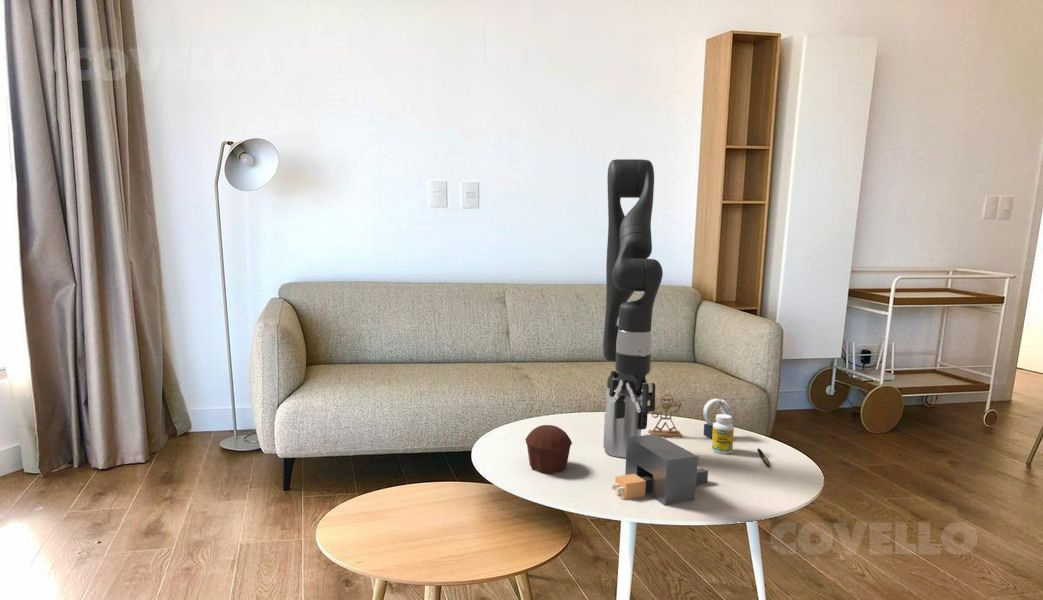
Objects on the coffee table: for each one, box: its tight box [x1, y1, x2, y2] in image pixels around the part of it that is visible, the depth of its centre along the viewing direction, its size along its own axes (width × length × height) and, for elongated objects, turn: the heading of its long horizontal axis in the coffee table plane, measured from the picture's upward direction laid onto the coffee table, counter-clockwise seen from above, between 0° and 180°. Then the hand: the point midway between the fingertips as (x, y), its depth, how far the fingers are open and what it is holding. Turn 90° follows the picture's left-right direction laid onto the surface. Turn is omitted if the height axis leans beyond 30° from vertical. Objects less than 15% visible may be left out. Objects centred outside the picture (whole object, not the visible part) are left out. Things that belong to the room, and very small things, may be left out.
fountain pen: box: [757, 447, 771, 468], centre depth 178 cm, size 14×1×2 cm, turn 172°
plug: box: [610, 467, 709, 500], centre depth 156 cm, size 4×25×4 cm, turn 113°
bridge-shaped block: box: [624, 434, 699, 506], centre depth 156 cm, size 16×8×10 cm, turn 23°
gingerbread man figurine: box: [647, 393, 683, 439], centre depth 194 cm, size 9×4×12 cm, turn 90°
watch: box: [702, 398, 733, 440], centre depth 194 cm, size 6×8×11 cm
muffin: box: [525, 424, 573, 475], centre depth 168 cm, size 12×11×10 cm
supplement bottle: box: [711, 413, 735, 455], centre depth 183 cm, size 5×5×10 cm
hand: (630, 423), depth 151 cm, fingers open, 8 cm apart
